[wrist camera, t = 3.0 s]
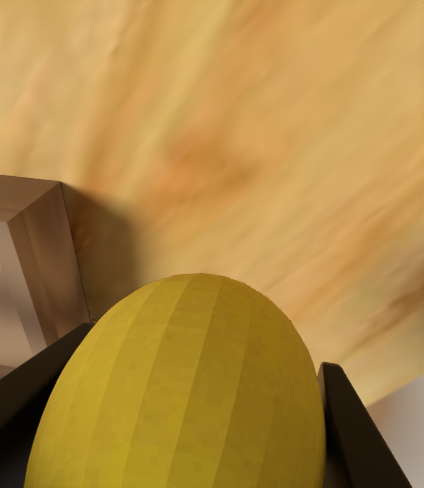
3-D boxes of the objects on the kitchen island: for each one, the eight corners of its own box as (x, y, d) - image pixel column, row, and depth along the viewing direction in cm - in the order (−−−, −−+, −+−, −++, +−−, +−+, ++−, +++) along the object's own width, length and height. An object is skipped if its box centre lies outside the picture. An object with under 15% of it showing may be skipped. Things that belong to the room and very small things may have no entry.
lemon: (299, 197, 9) (297, 737, 2) (328, 356, 12) (366, 820, 5) (103, 231, 11) (-211, 601, 4) (167, 363, 13) (39, 716, 7)
